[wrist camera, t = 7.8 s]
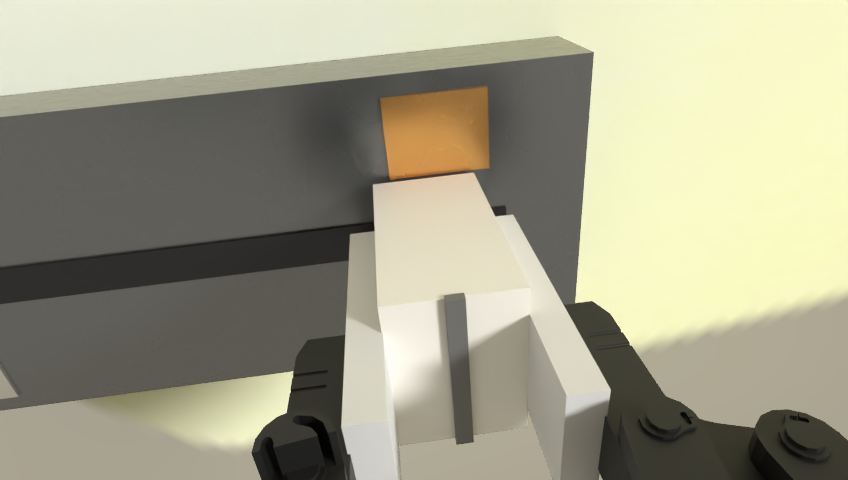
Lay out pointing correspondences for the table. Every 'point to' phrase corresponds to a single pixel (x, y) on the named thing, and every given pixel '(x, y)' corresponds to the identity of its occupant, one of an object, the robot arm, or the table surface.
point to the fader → (450, 310)
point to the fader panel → (255, 204)
